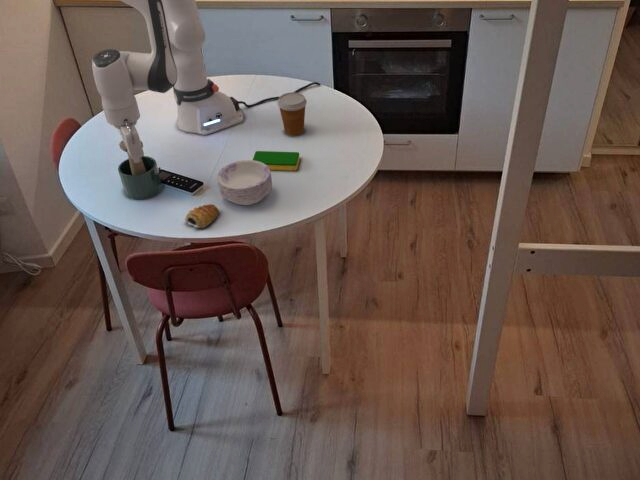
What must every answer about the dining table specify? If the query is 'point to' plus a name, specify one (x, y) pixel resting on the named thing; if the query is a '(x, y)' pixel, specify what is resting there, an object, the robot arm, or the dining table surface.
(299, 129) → the disposable coffee cup
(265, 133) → the dining table surface
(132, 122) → the robot arm
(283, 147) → the dining table surface
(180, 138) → the dining table surface
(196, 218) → the pastry
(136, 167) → the handle
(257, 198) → the white bowl
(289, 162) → the dish sponge
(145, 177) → the crock
